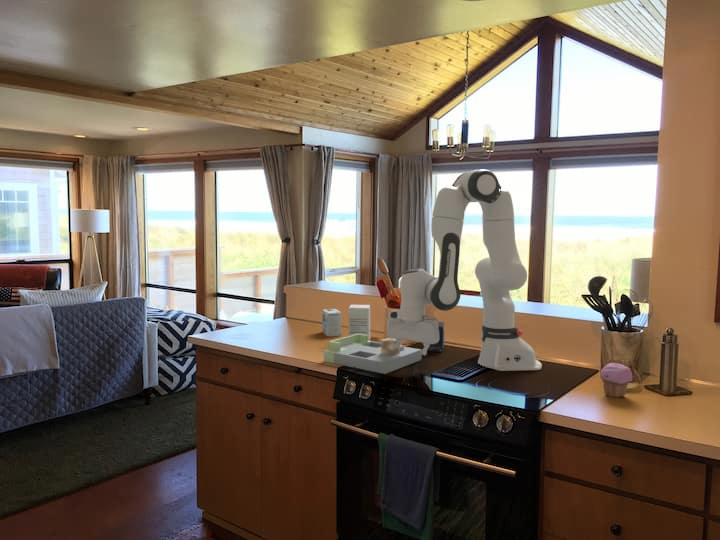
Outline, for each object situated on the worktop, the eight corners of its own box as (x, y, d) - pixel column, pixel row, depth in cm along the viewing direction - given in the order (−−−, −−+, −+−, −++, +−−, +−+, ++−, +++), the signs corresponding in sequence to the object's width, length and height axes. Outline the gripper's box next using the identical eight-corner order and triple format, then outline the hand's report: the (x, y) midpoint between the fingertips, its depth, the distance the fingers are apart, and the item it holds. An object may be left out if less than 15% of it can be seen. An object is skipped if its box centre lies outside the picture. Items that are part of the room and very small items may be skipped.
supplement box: (350, 337, 256) (350, 304, 254) (370, 337, 255) (370, 304, 253) (348, 341, 247) (348, 307, 245) (368, 342, 246) (368, 307, 244)
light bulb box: (322, 332, 267) (321, 309, 266) (335, 331, 269) (335, 308, 268) (327, 336, 257) (327, 313, 256) (342, 335, 259) (342, 312, 258)
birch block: (399, 353, 210) (400, 339, 210) (392, 355, 207) (392, 342, 206) (388, 351, 213) (388, 337, 213) (380, 353, 210) (380, 340, 209)
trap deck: (421, 359, 216) (421, 341, 216) (385, 374, 197) (385, 354, 197) (362, 349, 233) (362, 332, 232) (323, 361, 214) (323, 342, 214)
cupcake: (609, 389, 180) (611, 358, 179) (636, 396, 173) (638, 364, 172) (594, 394, 175) (595, 362, 174) (621, 402, 168) (622, 369, 167)
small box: (443, 352, 229) (443, 326, 227) (426, 351, 230) (427, 325, 229) (444, 346, 239) (445, 321, 238) (429, 345, 240) (429, 320, 239)
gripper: (443, 316, 199) (442, 355, 200) (394, 310, 211) (393, 347, 213) (434, 319, 194) (433, 359, 195) (384, 312, 206) (384, 350, 208)
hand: (412, 352), depth 204 cm, fingers open, 8 cm apart
